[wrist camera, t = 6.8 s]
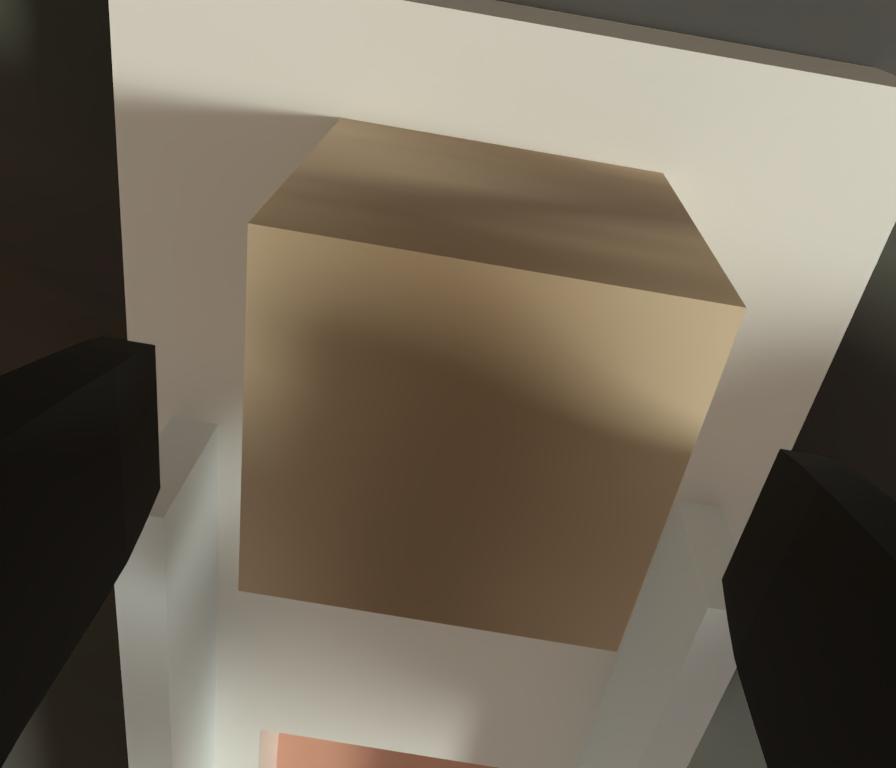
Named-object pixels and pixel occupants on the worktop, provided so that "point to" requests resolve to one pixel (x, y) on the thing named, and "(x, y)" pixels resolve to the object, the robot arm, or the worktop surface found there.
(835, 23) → the worktop surface
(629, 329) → the block
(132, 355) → the robot arm
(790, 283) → the white tray
